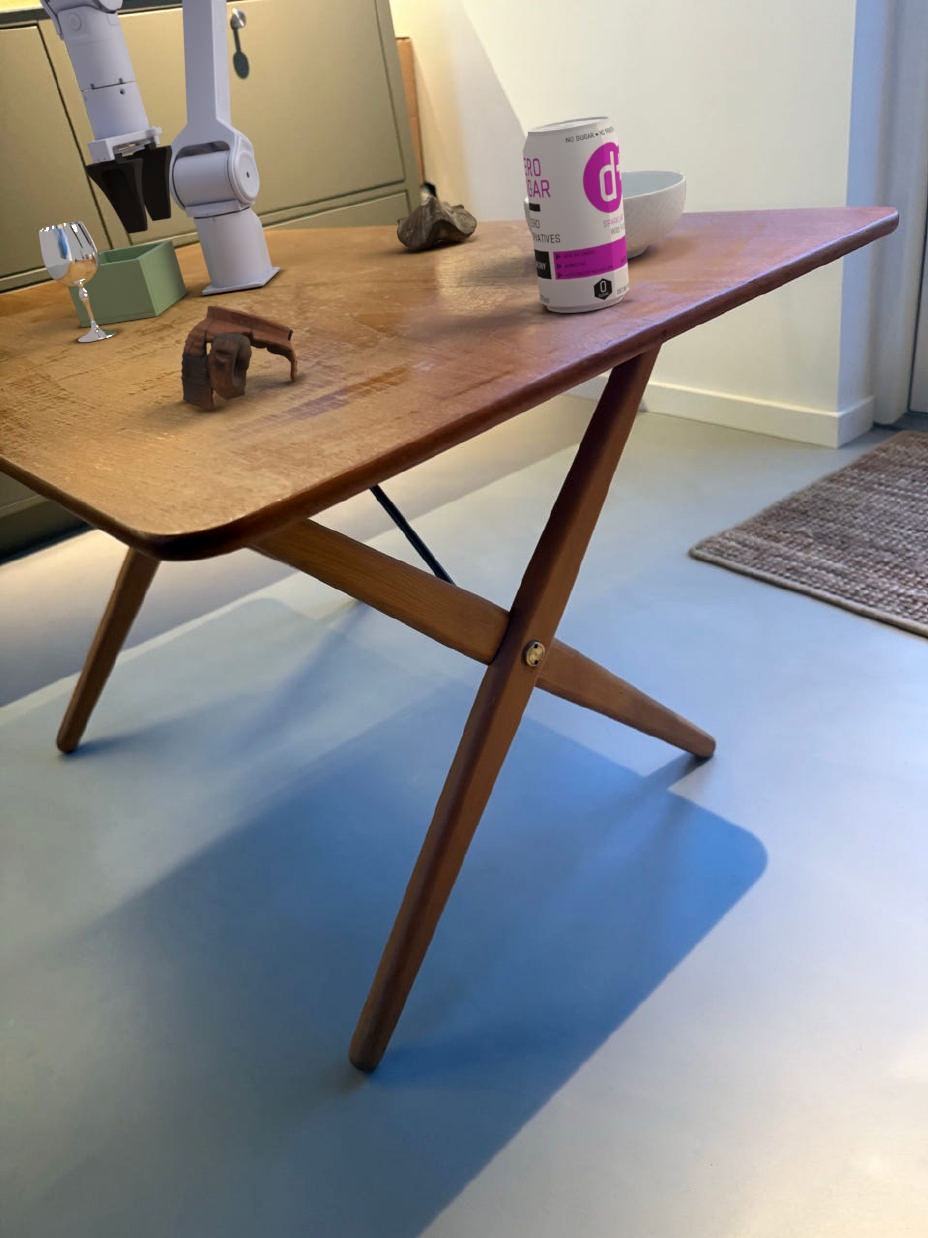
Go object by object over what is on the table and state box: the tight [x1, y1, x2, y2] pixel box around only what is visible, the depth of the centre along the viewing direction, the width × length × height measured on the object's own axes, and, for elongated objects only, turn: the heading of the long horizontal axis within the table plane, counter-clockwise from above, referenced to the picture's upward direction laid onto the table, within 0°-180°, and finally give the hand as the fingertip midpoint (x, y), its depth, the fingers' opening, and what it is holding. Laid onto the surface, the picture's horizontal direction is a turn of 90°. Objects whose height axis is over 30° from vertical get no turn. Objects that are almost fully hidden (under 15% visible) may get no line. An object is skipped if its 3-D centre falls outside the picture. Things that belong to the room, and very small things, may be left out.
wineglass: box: [38, 220, 118, 343], centre depth 112 cm, size 6×6×12 cm
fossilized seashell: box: [396, 194, 478, 250], centre depth 129 cm, size 8×7×10 cm
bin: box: [67, 239, 188, 328], centre depth 123 cm, size 12×10×7 cm
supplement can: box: [522, 115, 630, 314], centre depth 89 cm, size 8×8×15 cm
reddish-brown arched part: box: [180, 305, 299, 411], centre depth 83 cm, size 12×10×8 cm
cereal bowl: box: [523, 169, 687, 260], centre depth 107 cm, size 17×17×7 cm
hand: (150, 225), depth 110 cm, fingers open, 7 cm apart
